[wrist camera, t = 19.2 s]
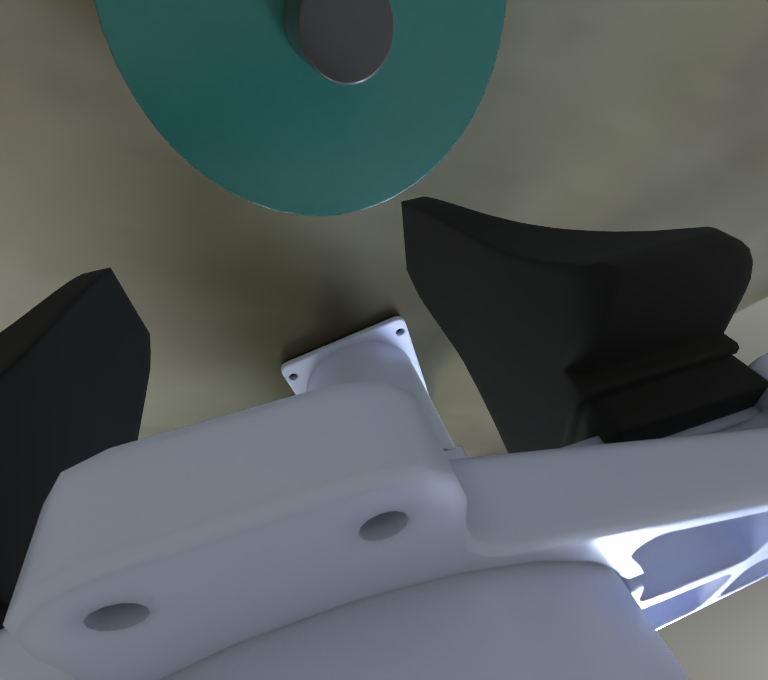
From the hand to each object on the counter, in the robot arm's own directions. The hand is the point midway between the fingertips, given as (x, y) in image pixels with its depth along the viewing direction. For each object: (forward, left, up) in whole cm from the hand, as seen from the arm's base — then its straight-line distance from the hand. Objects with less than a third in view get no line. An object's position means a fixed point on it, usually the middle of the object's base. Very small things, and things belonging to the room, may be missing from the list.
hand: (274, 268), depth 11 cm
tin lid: (+4, -4, -6) cm, 8 cm away
